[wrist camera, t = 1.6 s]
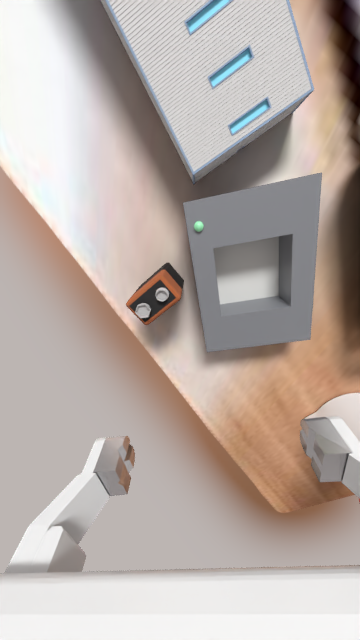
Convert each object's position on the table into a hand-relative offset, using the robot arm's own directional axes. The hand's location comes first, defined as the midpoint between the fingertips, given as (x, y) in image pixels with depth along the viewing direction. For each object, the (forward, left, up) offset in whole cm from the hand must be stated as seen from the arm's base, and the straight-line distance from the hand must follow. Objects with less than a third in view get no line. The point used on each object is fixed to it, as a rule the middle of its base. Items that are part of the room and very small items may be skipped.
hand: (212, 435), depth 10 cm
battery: (0, +6, -29) cm, 30 cm away
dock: (0, -8, -29) cm, 30 cm away
